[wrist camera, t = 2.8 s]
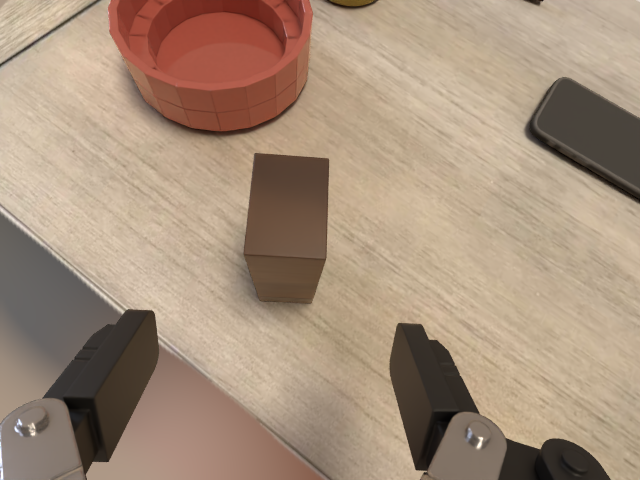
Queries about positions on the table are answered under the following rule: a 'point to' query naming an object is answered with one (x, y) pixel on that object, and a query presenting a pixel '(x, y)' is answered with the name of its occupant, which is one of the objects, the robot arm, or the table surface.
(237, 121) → the bowl
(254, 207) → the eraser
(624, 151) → the smartphone
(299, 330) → the table surface
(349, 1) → the brass weight
